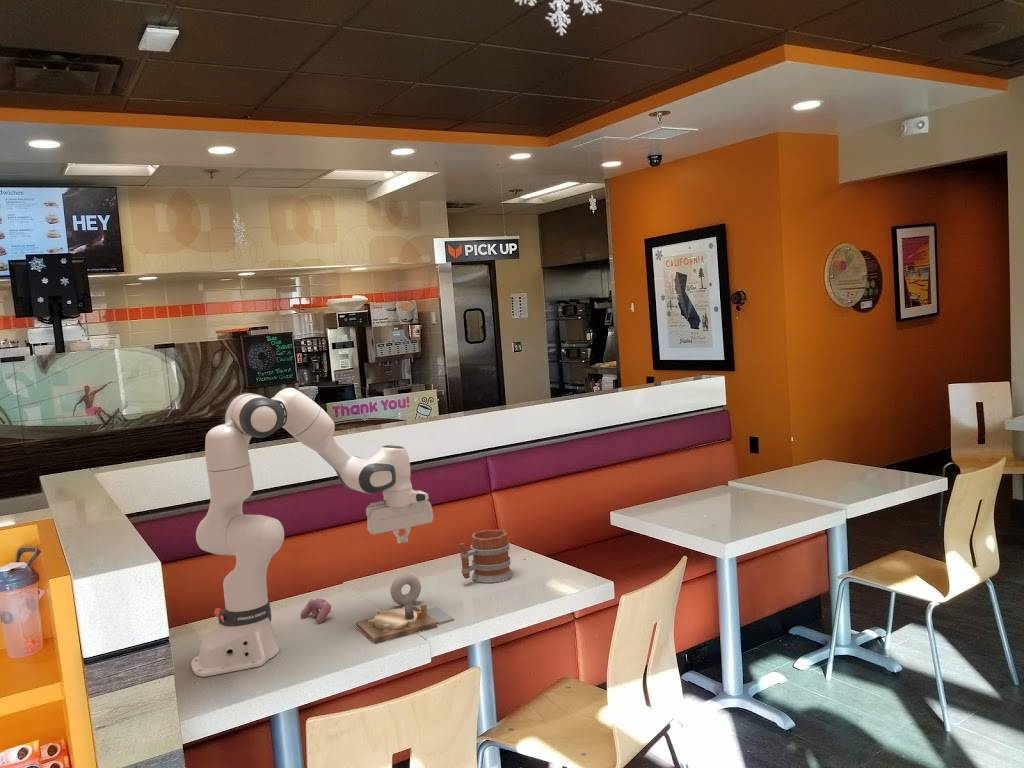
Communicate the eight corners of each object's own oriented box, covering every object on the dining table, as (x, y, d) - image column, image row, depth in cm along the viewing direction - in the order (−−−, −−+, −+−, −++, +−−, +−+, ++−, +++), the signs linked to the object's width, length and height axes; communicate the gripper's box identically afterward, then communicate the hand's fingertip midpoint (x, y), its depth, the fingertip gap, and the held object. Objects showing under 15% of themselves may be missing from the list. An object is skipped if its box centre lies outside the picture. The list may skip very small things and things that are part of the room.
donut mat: (438, 624, 233) (438, 622, 233) (421, 612, 244) (421, 610, 244) (454, 620, 235) (454, 618, 235) (436, 608, 247) (436, 606, 246)
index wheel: (402, 634, 223) (400, 614, 222) (357, 628, 230) (356, 609, 230) (432, 615, 236) (431, 596, 236) (390, 609, 244) (388, 591, 243)
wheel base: (374, 643, 222) (373, 628, 221) (356, 626, 236) (354, 611, 235) (437, 627, 231) (436, 611, 231) (416, 611, 245) (415, 597, 245)
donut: (394, 610, 248) (391, 578, 247) (390, 607, 251) (387, 575, 250) (424, 602, 252) (421, 571, 252) (419, 599, 255) (417, 569, 255)
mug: (521, 575, 272) (518, 532, 271) (476, 590, 260) (472, 545, 259) (495, 568, 283) (492, 526, 282) (451, 582, 271) (447, 538, 270)
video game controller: (328, 626, 243) (335, 602, 244) (316, 623, 239) (323, 600, 241) (310, 619, 249) (317, 597, 251) (298, 617, 246) (305, 594, 248)
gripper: (368, 506, 236) (373, 552, 237) (433, 493, 245) (437, 537, 246) (361, 502, 241) (366, 547, 242) (425, 490, 251) (429, 533, 252)
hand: (402, 542), depth 244 cm, fingers closed
